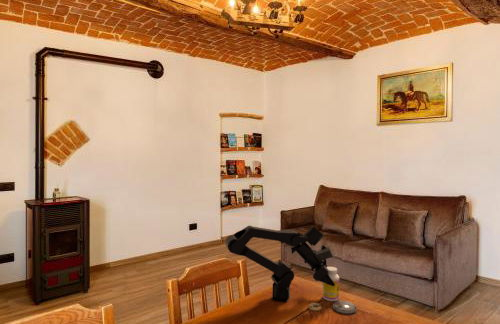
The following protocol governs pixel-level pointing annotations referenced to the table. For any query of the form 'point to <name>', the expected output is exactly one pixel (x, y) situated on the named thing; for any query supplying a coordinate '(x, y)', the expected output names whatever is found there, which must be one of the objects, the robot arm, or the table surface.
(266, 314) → the table surface
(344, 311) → the flange pad
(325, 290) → the supplement bottle
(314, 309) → the small brass flange
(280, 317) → the table surface
